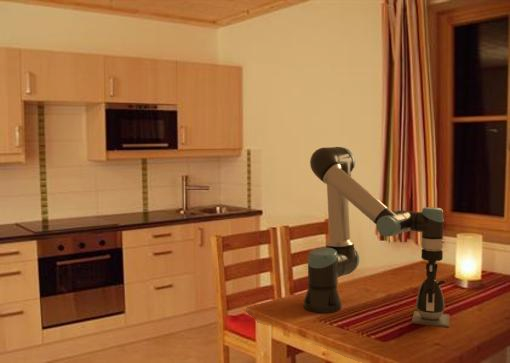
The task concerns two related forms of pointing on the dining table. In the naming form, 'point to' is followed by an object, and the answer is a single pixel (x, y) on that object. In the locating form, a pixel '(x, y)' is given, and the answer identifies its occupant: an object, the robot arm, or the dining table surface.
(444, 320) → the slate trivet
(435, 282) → the pump dispenser
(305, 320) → the dining table surface
